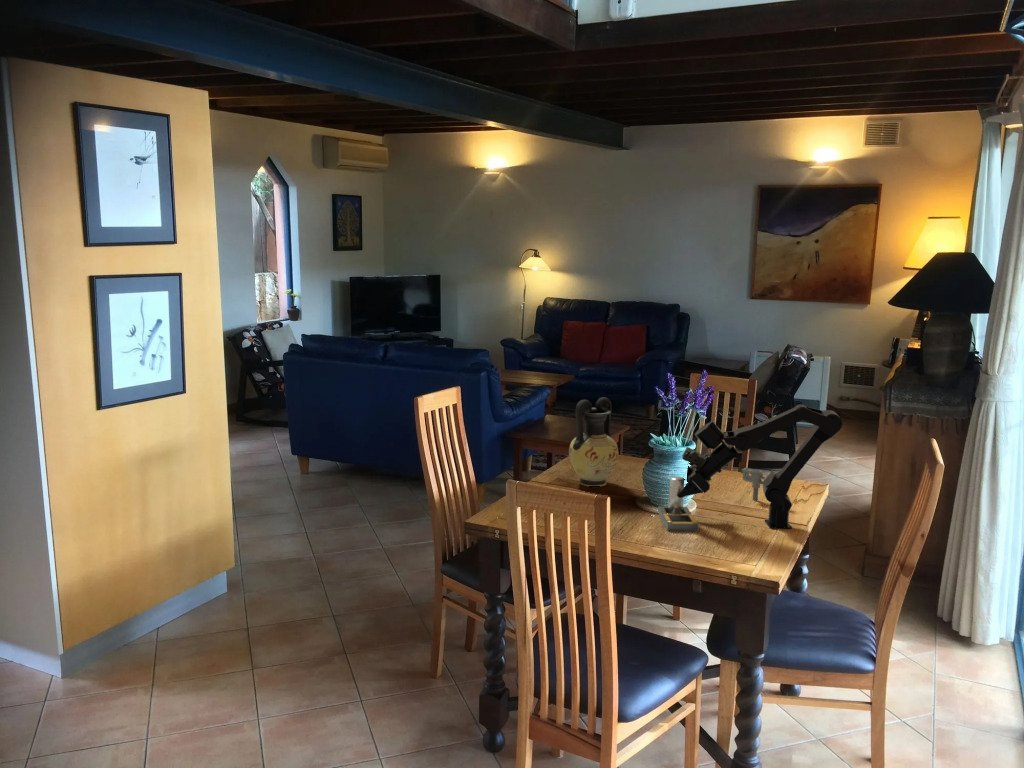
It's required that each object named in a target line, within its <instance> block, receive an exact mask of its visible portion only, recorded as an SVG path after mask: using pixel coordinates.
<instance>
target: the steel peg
mask: <svg viewBox="0 0 1024 768" xmlns="http://www.w3.org/2000/svg"><path fill="white" fill-rule="evenodd" d="M683 477H684V476H683ZM683 477H682V476H678V475H677V476H676V475H675V476H671V477H669V489H668V502H667V503H668V506H667V507H668V514H683V507H684V497H682V498H679V497H678V496H677V495H678V493H679V492H680V491H681V490H682V489H683V488H684V480H685V479H684V478H683Z"/></svg>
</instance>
